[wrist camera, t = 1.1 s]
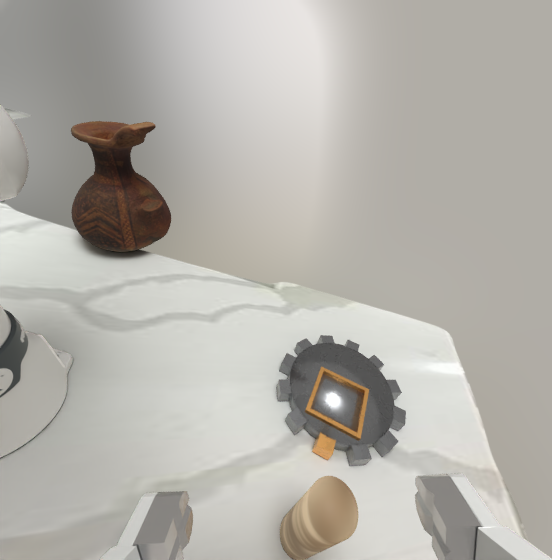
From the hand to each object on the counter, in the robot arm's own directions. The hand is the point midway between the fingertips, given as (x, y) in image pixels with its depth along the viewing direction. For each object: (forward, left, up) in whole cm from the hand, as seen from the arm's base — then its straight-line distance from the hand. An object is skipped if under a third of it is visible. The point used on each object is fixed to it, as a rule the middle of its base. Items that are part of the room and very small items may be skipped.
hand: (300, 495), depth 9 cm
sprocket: (+5, +26, -31) cm, 41 cm away
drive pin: (+5, +6, -31) cm, 32 cm away
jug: (-57, +40, -31) cm, 76 cm away
